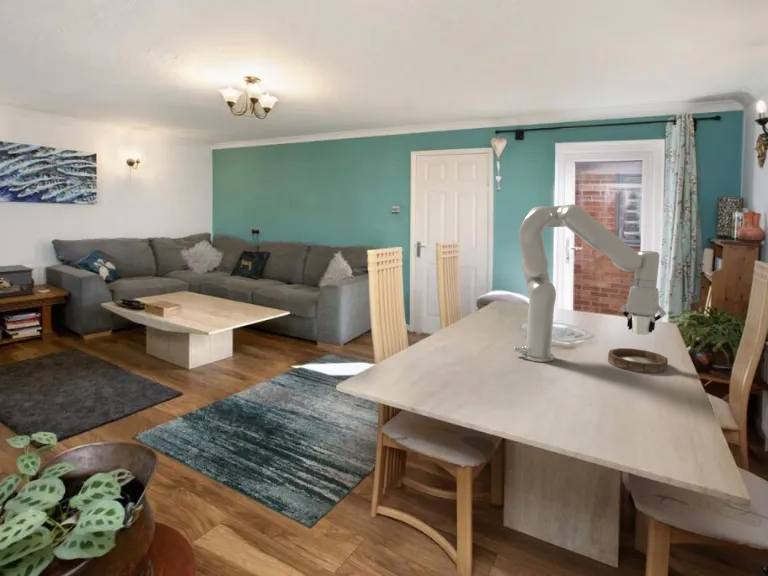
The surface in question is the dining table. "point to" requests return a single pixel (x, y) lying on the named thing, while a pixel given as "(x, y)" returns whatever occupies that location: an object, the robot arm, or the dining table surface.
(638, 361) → the round wooden tray
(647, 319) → the white cup
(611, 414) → the dining table surface
